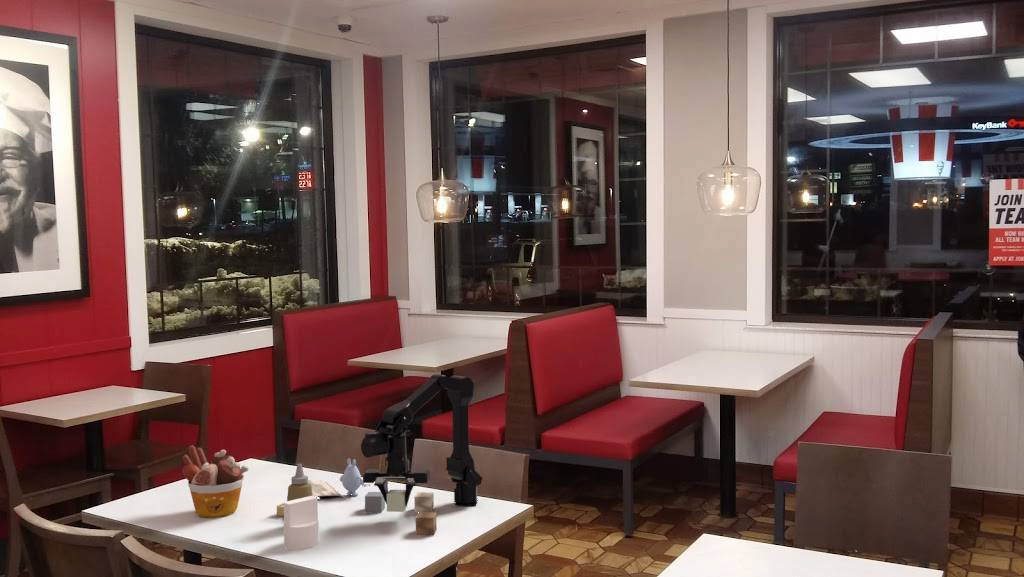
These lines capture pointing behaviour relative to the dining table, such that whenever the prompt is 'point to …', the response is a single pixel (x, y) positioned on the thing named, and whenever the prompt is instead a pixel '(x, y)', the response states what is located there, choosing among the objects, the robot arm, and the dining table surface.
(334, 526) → the dining table surface
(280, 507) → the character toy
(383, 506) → the slate block
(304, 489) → the squeeze bottle
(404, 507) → the sage block
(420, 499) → the cream block
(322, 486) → the newspaper
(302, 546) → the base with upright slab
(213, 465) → the bucket of meat
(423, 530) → the walnut block
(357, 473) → the toy figure
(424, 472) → the robot arm
